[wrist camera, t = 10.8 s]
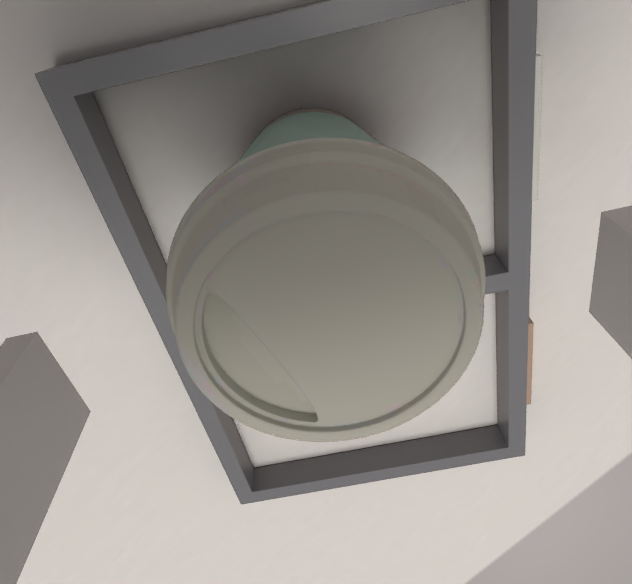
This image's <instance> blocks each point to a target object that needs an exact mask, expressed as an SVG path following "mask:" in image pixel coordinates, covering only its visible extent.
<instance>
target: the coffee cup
mask: <svg viewBox="0 0 632 584" xmlns="http://www.w3.org/2000/svg"><path fill="white" fill-rule="evenodd" d="M485 284H486V276H485V265H484V258H483V254H482V250H481V247H480V244H479V241H478V237H477V233H476V230H475V228H474V225H473V223H472V220H471V218H470V216H469V214H468V212H467V210H466V209H465V207H464V205H463V204H462V202H461V201H460V199H459V198H458V197H457V195H456V194H455V193H454V192H453V190H452V189H451V188H450V187H449V186H448V185H447V184H446V183H445V182H444V181H443V180H442V179H441V178H440V177H439V176H438V175H436V174H435V173H434V172H433V171H431V170H430V169H429V168H427V167H426V166H425V165H423V164H422V163H420V162H418V161H417V160H415V159H413V158H411V157H409V156H407V155H405V154H403V153H401V152H399V151H396V150H394V149H391V148H389V147H386V146H383V145H381V144H380V143H379V142H378V141H376V140H375V139H374V138H373V137H371V136H370V135H369V134H368V133H366V132H365V131H364V130H363V129H361V128H360V127H359V126H357V125H356V124H355V123H353V122H352V121H351V120H350V119H348V118H346V117H345V116H343V115H341V114H339V113H336V112H334V111H331V110H327V109H321V108H304V109H298V110H294V111H291V112H288V113H285V114H283V115H281V116H280V117H278V118H276V119H275V120H273V121H272V122H271V123H269V124H268V125H267V126H266V127H265V128H264V129H263V130H262V131H261V133H260V134H259V135H258V136H257V138H256V139H255V140H254V141H253V143H252V144H251V145H250V147H249V148H248V149H247V151H246V152H245V153H244V155H243V156H242V157H241V158H240V160H239V161H238V162H237V163H236V164H235V165H233V166H232V167H230V168H229V169H227V170H226V171H224V172H223V173H222V174H221V175H219V176H218V177H217V178H216V179H214V180H213V181H212V182H211V183H210V184H209V185H208V186H207V187H206V188H205V189H204V190H203V191H202V192H201V193H200V194H199V195H198V197H197V198H196V199H195V200H194V202H193V203H192V204H191V206H190V207H189V209H188V210H187V212H186V213H185V215H184V217H183V218H182V220H181V222H180V224H179V226H178V228H177V231H176V233H175V236H174V238H173V241H172V245H171V248H170V252H169V257H168V264H167V280H166V301H167V310H168V315H169V319H170V323H171V327H172V329H173V332H174V335H175V337H176V342H177V346H178V349H179V353H180V356H181V359H182V361H183V364H184V366H185V368H186V370H187V372H188V373H189V375H190V377H191V378H192V380H193V382H194V383H195V384H196V385H197V387H198V388H199V389H200V390H201V392H202V393H203V394H204V395H205V396H206V397H207V398H208V399H209V400H210V401H211V402H212V403H213V404H214V405H216V406H217V407H218V408H219V409H221V410H222V411H223V412H224V413H226V414H227V415H229V416H230V417H232V418H234V419H235V420H237V421H239V422H241V423H243V424H245V425H247V426H249V427H251V428H254V429H256V430H259V431H261V432H264V433H267V434H271V435H274V436H278V437H281V438H287V439H293V440H299V441H312V442H334V441H344V440H352V439H357V438H362V437H367V436H370V435H374V434H378V433H381V432H384V431H386V430H389V429H392V428H394V427H396V426H399V425H401V424H403V423H405V422H407V421H409V420H411V419H413V418H414V417H416V416H418V415H419V414H421V413H422V412H424V411H425V410H427V409H428V408H430V407H431V406H432V405H434V404H435V403H436V402H437V401H439V400H440V399H441V398H442V397H443V396H444V395H445V394H446V393H447V392H448V391H449V390H450V389H451V388H452V387H453V386H454V385H455V383H456V382H457V381H458V380H459V378H460V377H461V376H462V374H463V373H464V371H465V370H466V368H467V367H468V365H469V363H470V361H471V359H472V357H473V355H474V353H475V351H476V348H477V346H478V343H479V340H480V336H481V332H482V326H483V317H484V296H485Z"/></svg>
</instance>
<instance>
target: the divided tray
mask: <svg viewBox="0 0 632 584" xmlns="http://www.w3.org/2000/svg"><path fill="white" fill-rule="evenodd" d="M465 1H470V0H323V1H319V2H315V3H311V4H307V5H303V6H299V7H295V8H291V9H287V10H283V11H279V12H275V13H271V14H267V15H263V16H259V17H255V18H250V19H246V20H242V21H238V22H234V23H230V24H226V25H222V26H218V27H214V28H210V29H206V30H202V31H198V32H194V33H190V34H186V35H182V36H178V37H174V38H169V39H165V40H161V41H157V42H153V43H149V44H145V45H141V46H137V47H133V48H129V49H125V50H121V51H117V52H113V53H109V54H105V55H101V56H97V57H93V58H88V59H84V60H80V61H76V62H72V63H68V64H64V65H60V66H56V67H53V68H50V69H47V70H44V71H41V72H38V73H35V76H36V78H37V80H38V82H39V84H40V87H41V89H42V91H43V93H44V95H45V97H46V99H47V101H48V103H49V105H50V107H51V109H52V111H53V114H54V116H55V118H56V120H57V122H58V124H59V126H60V128H61V130H62V132H63V134H64V136H65V139H66V141H67V143H68V145H69V147H70V149H71V151H72V153H73V155H74V157H75V159H76V161H77V164H78V166H79V168H80V170H81V172H82V174H83V176H84V178H85V180H86V182H87V184H88V186H89V189H90V191H91V193H92V195H93V197H94V199H95V201H96V203H97V205H98V207H99V209H100V211H101V214H102V216H103V218H104V220H105V222H106V224H107V226H108V228H109V230H110V232H111V234H112V236H113V239H114V241H115V243H116V245H117V247H118V249H119V251H120V253H121V255H122V257H123V259H124V261H125V264H126V266H127V268H128V270H129V272H130V274H131V276H132V278H133V280H134V282H135V284H136V286H137V289H138V291H139V293H140V295H141V297H142V299H143V301H144V303H145V305H146V307H147V309H148V311H149V314H150V316H151V318H152V320H153V322H154V324H155V326H156V328H157V330H158V332H159V334H160V336H161V339H162V341H163V343H164V345H165V347H166V349H167V351H168V353H169V355H170V357H171V359H172V361H173V364H174V366H175V368H176V370H177V372H178V374H179V376H180V378H181V380H182V382H183V384H184V386H185V388H186V391H187V393H188V395H189V397H190V399H191V401H192V403H193V405H194V407H195V409H196V411H197V413H198V416H199V418H200V420H201V422H202V424H203V426H204V428H205V430H206V432H207V434H208V436H209V438H210V441H211V443H212V445H213V447H214V449H215V451H216V453H217V455H218V457H219V459H220V461H221V463H222V466H223V468H224V470H225V472H226V474H227V476H228V478H229V480H230V482H231V484H232V486H233V488H234V491H235V493H236V495H237V497H238V499H239V501H240V503H241V504H247V503H253V502H258V501H264V500H270V499H276V498H281V497H287V496H293V495H299V494H304V493H310V492H316V491H322V490H328V489H333V488H339V487H345V486H351V485H356V484H362V483H368V482H374V481H380V480H385V479H391V478H397V477H403V476H408V475H414V474H420V473H426V472H432V471H437V470H443V469H449V468H455V467H460V466H466V465H472V464H478V463H483V462H489V461H495V460H501V459H507V458H512V457H518V456H524V455H525V438H526V405H527V404H531V384H532V354H533V324H534V323H533V322H532V320H531V319H530V317H529V289H530V251H531V214H532V201H533V200H538V175H539V145H540V116H541V86H542V56H543V55H539V54H536V28H537V0H491V49H492V107H493V166H494V225H495V254H494V255H489V256H485V257H483V258H484V265H485V276H486V284H485V294H490V293H495V292H496V342H497V401H498V425H494V426H488V427H483V428H477V429H472V430H466V431H460V432H455V433H449V434H444V435H438V436H432V437H427V438H421V439H416V440H410V441H404V442H399V443H393V444H388V445H382V446H376V447H371V448H365V449H359V450H354V451H348V452H343V453H337V454H331V455H326V456H320V457H315V458H309V459H303V460H298V461H292V462H287V463H281V464H275V465H270V466H264V467H259V468H253V465H252V463H251V461H250V458H249V456H248V454H247V451H246V449H245V447H244V444H243V442H242V440H241V437H240V435H239V433H238V430H237V428H236V426H235V423H234V421H233V419H232V417H230V416H229V415H227V414H226V413H224V412H223V411H222V410H221V409H219V408H218V407H217V406H216V405H214V404H213V403H212V402H211V401H210V400H209V399H208V398H207V397H206V396H205V395H204V394H203V393H202V392H201V390H200V389H199V388H198V387H197V385H196V384H195V383H194V382H193V380H192V378H191V377H190V375H189V373H188V372H187V370H186V368H185V366H184V364H183V361H182V359H181V356H180V353H179V349H178V346H177V342H176V337H175V335H174V332H173V329H172V327H171V323H170V319H169V315H168V310H167V301H166V280H167V265H166V263H165V260H164V258H163V256H162V253H161V251H160V249H159V246H158V244H157V242H156V240H155V237H154V235H153V233H152V230H151V228H150V226H149V223H148V221H147V219H146V216H145V214H144V212H143V209H142V207H141V205H140V202H139V200H138V198H137V195H136V193H135V191H134V188H133V186H132V184H131V181H130V179H129V177H128V174H127V172H126V170H125V167H124V165H123V163H122V160H121V158H120V156H119V153H118V151H117V149H116V146H115V144H114V142H113V139H112V137H111V135H110V132H109V130H108V128H107V125H106V123H105V121H104V118H103V116H102V114H101V111H100V109H99V107H98V105H97V102H96V100H95V98H94V95H93V93H92V92H93V91H97V90H101V89H105V88H110V87H114V86H118V85H122V84H126V83H130V82H134V81H139V80H143V79H147V78H151V77H155V76H159V75H163V74H167V73H172V72H176V71H180V70H184V69H188V68H192V67H196V66H201V65H205V64H209V63H213V62H217V61H221V60H225V59H230V58H234V57H238V56H242V55H246V54H250V53H254V52H259V51H263V50H267V49H271V48H275V47H279V46H283V45H287V44H292V43H296V42H300V41H304V40H308V39H312V38H316V37H321V36H325V35H329V34H333V33H337V32H341V31H345V30H350V29H354V28H358V27H362V26H366V25H370V24H374V23H379V22H383V21H387V20H391V19H395V18H399V17H403V16H408V15H412V14H416V13H420V12H424V11H428V10H432V9H436V8H441V7H445V6H449V5H453V4H457V3H461V2H465Z"/></svg>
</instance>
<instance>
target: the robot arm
mask: <svg viewBox="0 0 632 584" xmlns="http://www.w3.org/2000/svg"><path fill="white" fill-rule="evenodd" d="M589 312H590V313H591V314H592V315H593V317H594V318H595V319H596V320H597V321H598V322H599V323H600V324H601V325H602V326H603V328H604V329H605V330H606V331H607V332H608V333H609V334H610V335H611V336H612V338H613V339H614V340H615V341H616V342H617V343H618V344H619V345H620V346H621V347H622V349H623V350H624V351H625V352H626V353H627V354H628V355H629V356H630V357H631V358H632V206H628V207H623V208H618V209H614V210H609V211H604V212H601V220H600V228H599V236H598V244H597V252H596V260H595V268H594V276H593V284H592V292H591V300H590V308H589ZM89 414H90V410H89V408H88V407H87V405H86V404H85V402H84V401H83V399H82V398H81V396H80V395H79V393H78V392H77V390H76V389H75V387H74V386H73V384H72V383H71V382H70V380H69V379H68V377H67V376H66V374H65V373H64V371H63V370H62V368H61V367H60V365H59V364H58V362H57V361H56V359H55V358H54V356H53V355H52V353H51V352H50V350H49V349H48V347H47V346H46V344H45V343H44V341H43V340H42V338H41V337H40V335H39V334H38V332H34V333H29V334H24V335H20V336H15V337H10V338H6V340H5V341H4V342H3V344H2V345H1V346H0V584H16V583H17V581H18V578H19V576H20V574H21V571H22V569H23V567H24V564H25V562H26V560H27V557H28V555H29V553H30V550H31V548H32V546H33V543H34V541H35V539H36V537H37V534H38V532H39V530H40V527H41V525H42V523H43V520H44V518H45V516H46V513H47V511H48V509H49V506H50V504H51V502H52V499H53V497H54V495H55V492H56V490H57V488H58V485H59V483H60V481H61V479H62V476H63V474H64V472H65V469H66V467H67V465H68V462H69V460H70V458H71V455H72V453H73V451H74V448H75V446H76V444H77V441H78V439H79V437H80V434H81V432H82V430H83V427H84V425H85V423H86V421H87V418H88V416H89Z"/></svg>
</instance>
